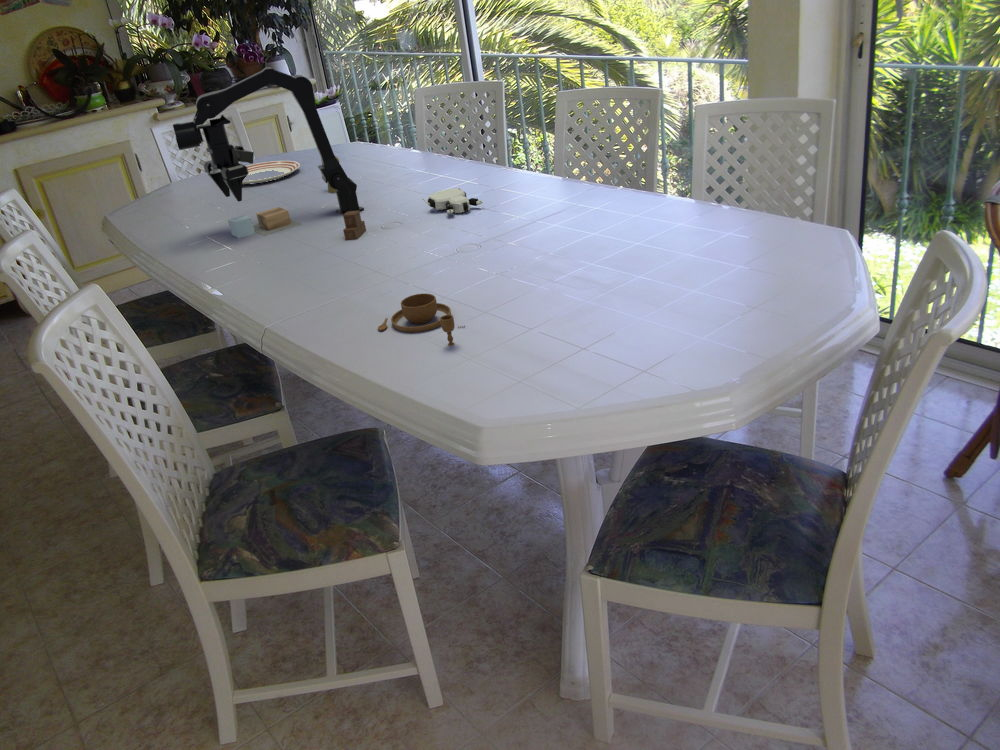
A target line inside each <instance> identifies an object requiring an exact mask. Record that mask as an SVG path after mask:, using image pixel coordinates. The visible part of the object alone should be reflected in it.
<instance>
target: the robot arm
mask: <svg viewBox="0 0 1000 750" xmlns="http://www.w3.org/2000/svg"><path fill="white" fill-rule="evenodd" d="M269 85H274V86H276V87H280V88H282V89H284V90H286V91H289V92H290V93H291V95H292V97H293V98H294V100H295V102H296V103H297V105H298V106H299V108H300V109H301V111H302V113H303V116H304V118H305V121H306V124H307V126H308V129H309V131H310V133H311V136H312V138H313V141H314V144H315V145H316V149H317V152H318V154H319V157H320V161H321V164H320V165H317V168H318V170H319V171H320V173H321V179H322V180H323V181H324V183H325V184H327V185H328V184H329V185H330V186H331V187H332V188H334V189H336V190H337V191H336V193H335V194H336V199H337V203H338V207H339V209H337V210H335V213H337V214H340V215H342V216H343V215H344V214H345V213H346V212H348V211H359V212H361V211H364V210H365V207H362V206H360V205H359V200H358V195H357V187H358V185H357V184H356V182H355V181H353V179H351V178H350V177H348V175H347V174H346V172H345V170H344V169H343V167H342V165H341V164H340V161H339V162H338V160H337V159H336V157H337V156H336V155H335V153H334V151H333V148H332V146H331V143H330V141H329V138H328V135H327V133H326V130H325V128H324V127H325V126H324V125H323V122H322V120H321V117H320V114H319V111H318V109H317V105H316V97H315V91H314V87H313V83H312V82H311V80H310V79H309V78H307V77H306V76H304V75H302V74H295V75H291V74H289V73H284V72H281V71H279V70H276V69H274V68H273V67H271V66H267V67H264V68H263V69H262V70H260V71H258V72H256V73H254V74H252V75H250V76H248V77H246V78H244V79H241V80H240V81H238V82H236V83H235V84H232V85H230V86H228V87H226V88H223V89H219V90H214V91H210V92H207V93H204V94H201V95H199V96H198V97H197V99H196V102H195V107H196V112H195V115H194V116H193V119H192V120H191V121H186V122H180V123H179V122H178V123H173V124H172V128H173V131H174V135H175V141H176V144H177V147H178V149H179V150H178V151H183V150H189V149H193V148H197V147H201V144H202V143H204V138H205V142H206V144H207V145H206V146H207V147H206V148H205V150H206V152H207V153H209V155H210V159H211V160H207V161H205V162H204V163H203V168H204V172H205V173H207V176H208V177H209V178H210V179H211V180H212V182H214V184H216V187H218V188H219V190H220V191H221V193H222V194H223V195H224V196H225V197H226V198H229V197H231V193H232V195H233V196H234V198H235V200H236V201H237V202H238V203H239V202H241V201H243V184H242V182H243V180H244V179H245V178H246V177H247V175H248V174H249V173H248V169H247V167H246V166H247V165H244V164H241V163H247V164H249V165H252V164H254V155H255V154H254V153H255V152H254V151H251V150H250V151H249V150H245V149H244V147H243V146H240V145H235V146H234V145H233V144H230V140H229V137H228V134H227V131H226V127H225V125H228V124H231V120H230V118H227V117H226V116H225V115H224V114H221V113H223V111H226V109H227V108H228V107H230V106H231V105H232V104H234V103H235V102H236V101H239V100H241V99H243V98H245V97H247V96H249V95H251V94H253V93H255V92H257V91H259V90H261V89H263V88H265V87H267V86H269ZM220 114H221V115H220ZM218 115H220V117H218V118H215V117H217V116H218ZM207 120H209V123H206V122H207ZM201 130H202V131H203V135H204V138H203V135H202V131H201ZM335 156H336V157H335ZM239 162H241V163H239Z"/></svg>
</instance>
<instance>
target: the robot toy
mask: <svg viewBox="0 0 1000 750" xmlns="http://www.w3.org/2000/svg"><path fill="white" fill-rule="evenodd" d="M421 199H422V200H423V201H424V202H425V203H426V204H427V206H429V207H431V208H433V209H434V210H437V211H439V210H441V211H444V210H446V213H447V214H449V215H450V214H453V213H454V212H455V213H454V214H456V213H459V214H463V213H465V211H466V212H468V211H470V208H471V207H470V206H473V207H477V206H479V205H482V204H483V203H484V202H483V200H479V199H478V198H474V197H471V198H470V199H469V198H468V197H467V192H465V191H464V190H462V189H461V188H460V187H459V186H458V187H457V188H447V189H443V190H439V191H436V192H433V193H431V194H430V195H429V196H428V199H427V200H426V199H425V198H424V197H421ZM467 210H468V211H467ZM462 212H463V213H462Z"/></svg>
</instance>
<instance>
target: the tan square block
mask: <svg viewBox="0 0 1000 750" xmlns="http://www.w3.org/2000/svg"><path fill="white" fill-rule="evenodd" d="M256 218H257V223H258V224H259V226H260V227H262V228H264V229H266V230H269V231H270V230H273V229H277V228H280V227H283V226H286V225H290V224H291V220H292V219H291V216H290V213H289V210H287V209H284V208H282V207H280V206H277V207H274V208H271V209H268V210H263V211H261V212H257V213H256ZM290 219H291V220H290Z"/></svg>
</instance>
